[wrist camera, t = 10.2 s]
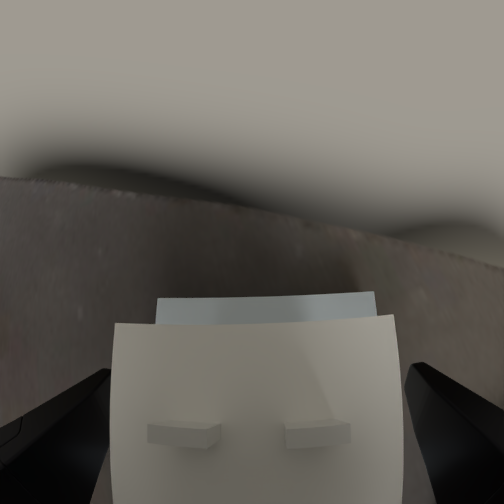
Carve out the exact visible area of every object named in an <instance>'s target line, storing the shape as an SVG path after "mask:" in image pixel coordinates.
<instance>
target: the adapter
mask: <svg viewBox="0 0 504 504" xmlns="http://www.w3.org/2000/svg"><path fill="white" fill-rule="evenodd" d="M110 463H111V482H112V495H113V504H402V490H403V409H402V391H401V377H400V366H399V355H398V346H397V337H396V329H395V322H394V314H392V315H382V316H372V317H361V318H349V319H336V320H322V321H306V322H287V323H263V324H222V325H169V324H129V323H115V331H114V342H113V355H112V370H111V390H110Z"/></svg>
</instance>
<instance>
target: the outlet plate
mask: <svg viewBox="0 0 504 504" xmlns="http://www.w3.org/2000/svg"><path fill="white" fill-rule="evenodd" d="M372 316H377V311H376V303H375V296H374V291H370V292H355V293H338V294H319V295H296V296H269V297H231V298H158V300H157V311H156V323H155V324H169V325H222V324H263V323H287V322H306V321H322V320H336V319H349V318H361V317H372Z"/></svg>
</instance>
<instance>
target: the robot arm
mask: <svg viewBox="0 0 504 504" xmlns="http://www.w3.org/2000/svg"><path fill="white" fill-rule="evenodd" d="M111 370H112V369H107V368H103V369H101V370H99V371H98V372H96V373H94V374H93V375H91V376H89V377H88V378H86V379H84V380H83V381H81V382H79V383H77V384H76V385H74V386H72V387H71V388H69V389H67V390H66V391H64V392H62V393H61V394H59V395H57V396H55V397H54V398H52V399H50V400H49V401H47V402H45V403H43V404H42V405H40V406H38V407H37V408H35V409H33V410H31V411H30V412H28V413H26V414H24V415H23V416H21V417H19V418H17V419H16V420H14V421H12V422H10V423H8V424H7V425H5V426H3V427H1V428H0V504H90V500H91V497H92V494H93V491H94V488H95V485H96V482H97V479H98V476H99V473H100V470H101V467H102V464H103V461H104V459H105V456H106V453H107V450H108V447H109V444H110V390H111ZM404 388H405V394H406V398H407V402H408V406H409V411H410V415H411V420H412V424H413V428H414V432H415V435H416V438H417V441H418V444H419V447H420V450H421V453H422V456H423V459H424V462H425V465H426V469H427V472H428V475H429V478H430V482H431V485H432V489H433V492H434V495H435V499H436V503H437V504H504V411H503V409H501V408H499V407H498V406H496V405H494V404H493V403H491V402H489V401H488V400H486V399H484V398H483V397H481V396H479V395H478V394H476V393H474V392H473V391H471V390H469V389H468V388H466V387H464V386H463V385H461V384H459V383H458V382H456V381H454V380H453V379H451V378H449V377H448V376H446V375H444V374H443V373H441V372H439V371H438V370H436V369H434V368H433V367H431V366H429V365H428V364H426V363H424V362H418V363H413V364H411V365H410V367H409V371H408V374H407V378H406V381H405V386H404Z"/></svg>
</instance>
